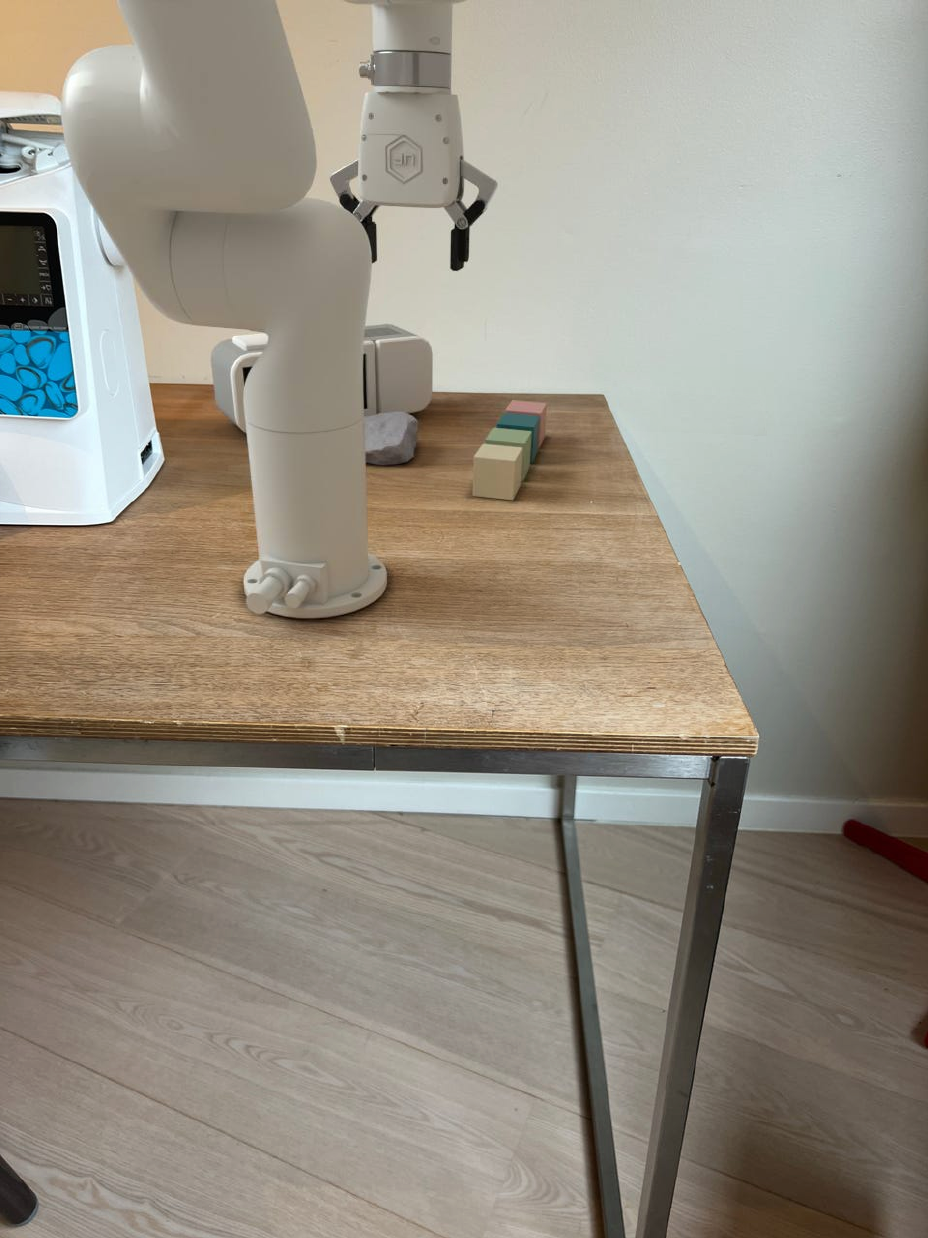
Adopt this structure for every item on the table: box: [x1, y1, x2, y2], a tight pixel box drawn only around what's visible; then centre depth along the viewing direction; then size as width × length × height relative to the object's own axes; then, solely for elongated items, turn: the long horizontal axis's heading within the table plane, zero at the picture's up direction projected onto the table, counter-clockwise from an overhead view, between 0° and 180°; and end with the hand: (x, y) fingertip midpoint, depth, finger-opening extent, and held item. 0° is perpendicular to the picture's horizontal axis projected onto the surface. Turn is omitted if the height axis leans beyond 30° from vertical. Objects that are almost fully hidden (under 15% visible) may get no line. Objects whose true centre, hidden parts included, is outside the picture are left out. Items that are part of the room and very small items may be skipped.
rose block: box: [504, 399, 548, 449], centre depth 116 cm, size 5×5×5 cm
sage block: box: [484, 427, 532, 483], centre depth 105 cm, size 5×5×5 cm
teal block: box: [495, 412, 540, 464], centre depth 111 cm, size 5×5×5 cm
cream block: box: [472, 443, 523, 501], centre depth 100 cm, size 5×5×5 cm
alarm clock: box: [210, 323, 434, 434], centre depth 119 cm, size 27×9×12 cm, turn 120°
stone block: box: [364, 412, 419, 466], centre depth 111 cm, size 12×5×10 cm
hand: (412, 266), depth 95 cm, fingers open, 9 cm apart
